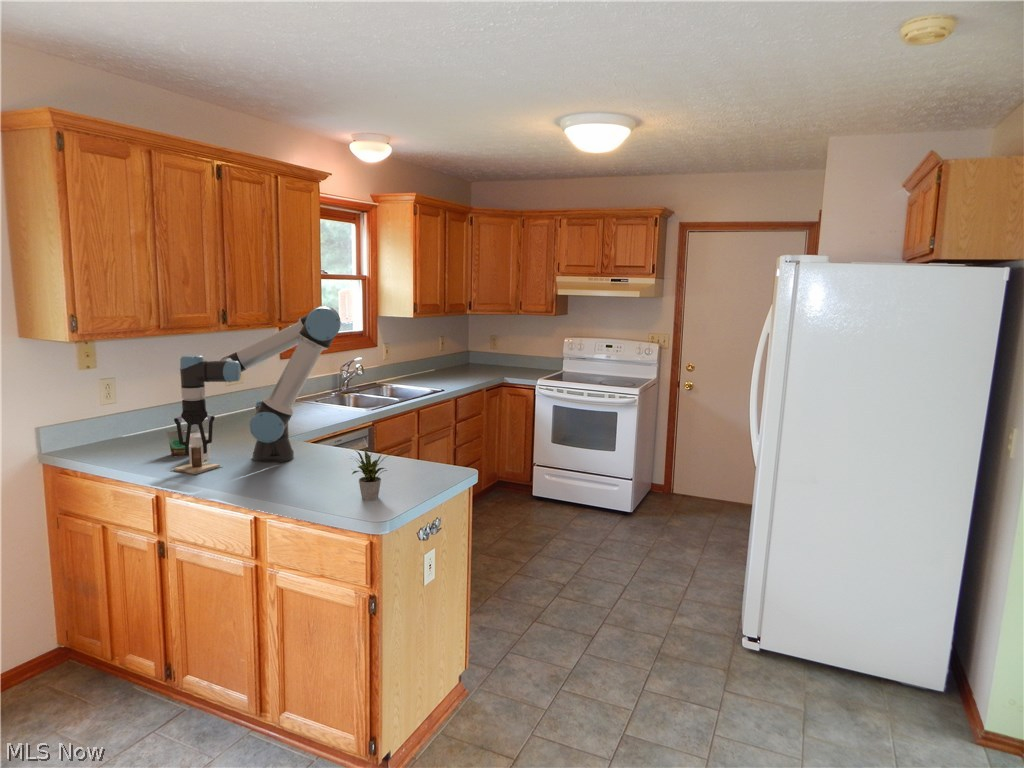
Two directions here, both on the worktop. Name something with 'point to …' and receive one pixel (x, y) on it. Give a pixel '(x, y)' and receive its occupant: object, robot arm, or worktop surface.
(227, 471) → the worktop surface
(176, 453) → the food container
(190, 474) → the mat
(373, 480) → the house plant
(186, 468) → the lid
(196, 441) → the white cup
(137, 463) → the worktop surface
